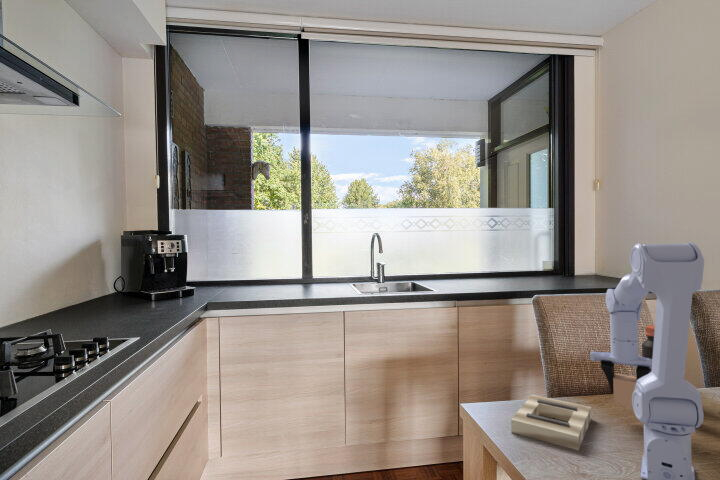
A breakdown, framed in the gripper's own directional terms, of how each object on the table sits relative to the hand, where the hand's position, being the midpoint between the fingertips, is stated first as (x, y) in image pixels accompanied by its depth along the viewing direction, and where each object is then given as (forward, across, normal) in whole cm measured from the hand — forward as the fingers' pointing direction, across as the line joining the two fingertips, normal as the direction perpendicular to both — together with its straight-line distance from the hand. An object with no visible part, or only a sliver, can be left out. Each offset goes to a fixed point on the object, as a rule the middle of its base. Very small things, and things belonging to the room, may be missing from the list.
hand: (625, 394), depth 97 cm
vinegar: (+7, -6, -20) cm, 22 cm away
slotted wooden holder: (+7, +14, +12) cm, 20 cm away
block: (+2, 0, 0) cm, 2 cm away
